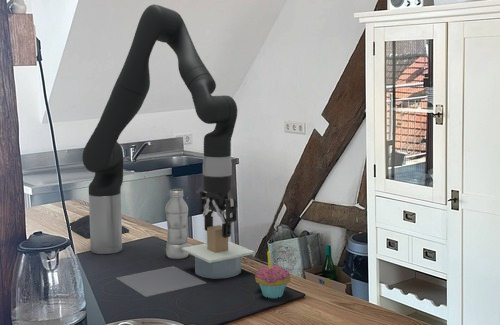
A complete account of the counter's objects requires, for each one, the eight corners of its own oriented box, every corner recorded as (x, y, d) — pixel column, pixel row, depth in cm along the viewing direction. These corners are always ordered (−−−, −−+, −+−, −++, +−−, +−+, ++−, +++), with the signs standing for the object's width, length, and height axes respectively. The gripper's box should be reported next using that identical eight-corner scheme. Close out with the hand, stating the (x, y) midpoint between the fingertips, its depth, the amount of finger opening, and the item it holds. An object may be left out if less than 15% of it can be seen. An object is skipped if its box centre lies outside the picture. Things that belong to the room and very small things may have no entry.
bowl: (186, 272, 174) (186, 250, 174) (224, 264, 181) (224, 243, 181) (210, 284, 165) (210, 261, 164) (249, 275, 172) (249, 253, 171)
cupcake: (278, 303, 152) (279, 253, 150) (247, 296, 156) (248, 248, 154) (296, 292, 159) (296, 245, 157) (266, 286, 163) (266, 240, 162)
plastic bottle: (185, 262, 183) (184, 192, 180) (162, 261, 184) (161, 191, 181) (192, 256, 189) (191, 188, 186) (169, 254, 190) (168, 187, 187)
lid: (181, 250, 174) (181, 226, 173) (225, 242, 182) (225, 218, 181) (209, 263, 163) (209, 237, 162) (254, 253, 171) (254, 229, 170)
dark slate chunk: (104, 221, 233) (103, 208, 232) (132, 234, 215) (131, 220, 214) (62, 227, 223) (62, 214, 223) (88, 241, 206) (87, 227, 205)
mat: (115, 280, 167) (115, 277, 167) (173, 268, 177) (173, 266, 177) (145, 299, 154) (145, 296, 154) (206, 285, 164) (206, 282, 163)
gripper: (244, 175, 165) (244, 237, 168) (214, 168, 177) (214, 226, 179) (220, 178, 161) (220, 242, 164) (190, 170, 173) (191, 230, 175)
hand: (217, 233), depth 171 cm, fingers open, 8 cm apart
